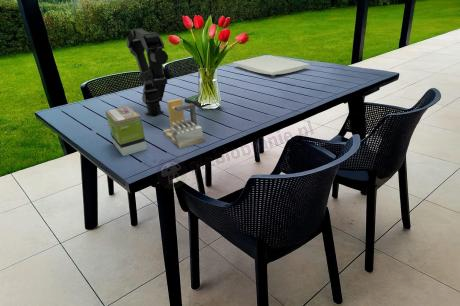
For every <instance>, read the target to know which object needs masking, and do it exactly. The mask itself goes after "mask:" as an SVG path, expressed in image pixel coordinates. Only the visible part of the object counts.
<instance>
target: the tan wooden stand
mask: <svg viewBox="0 0 460 306" xmlns="http://www.w3.org/2000/svg"><path fill="white" fill-rule="evenodd" d="M175 110H176V111H177V112H179V111H183V112H184V111H188V110H189V116H190V119H188V118H186V119H184V120H181V122H182V124H181V123H180V122H179V121H177V124H175V123H174V122H172V125H173V127H170V128H171V130H172V131H171V130H170V128H168V129H164V130H163V131H162V133H163V135H164V136H166V137H167V138H168V139H169V140H170V141H171V142H172V143H173V144H174V145H176V146H177V147H178V148H179V149H183V148H186V147H190V146H193V145H197V144H200V143H204V142H206V140H205V139H206V138H205V137H204V135H203V128H202V126H201V125H199V124H198V122H197V121H198V120H197V112H196V106H195V105H194V104H193V103H190V104H188V103H186V104H182V105H181V106H176V107H175Z"/></svg>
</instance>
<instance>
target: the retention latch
mask: <svg viewBox="0 0 460 306" xmlns="http://www.w3.org/2000/svg"><path fill="white" fill-rule="evenodd" d="M166 105H167V111H168V112H167V113H168V118H169V119H168V120H169V127H170V128H169V129H170V130H171V127H173V125H172V122H174V123H175V124H177V121H179V122H180V123H181V124H182V122H181V120H184V121H185V115H184V110H183V111H179V112H177V111H176V110H175V107H176V106H181V105H183V100H182V98H177V99H172V100H167V101H166ZM171 131H172V130H171Z"/></svg>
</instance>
